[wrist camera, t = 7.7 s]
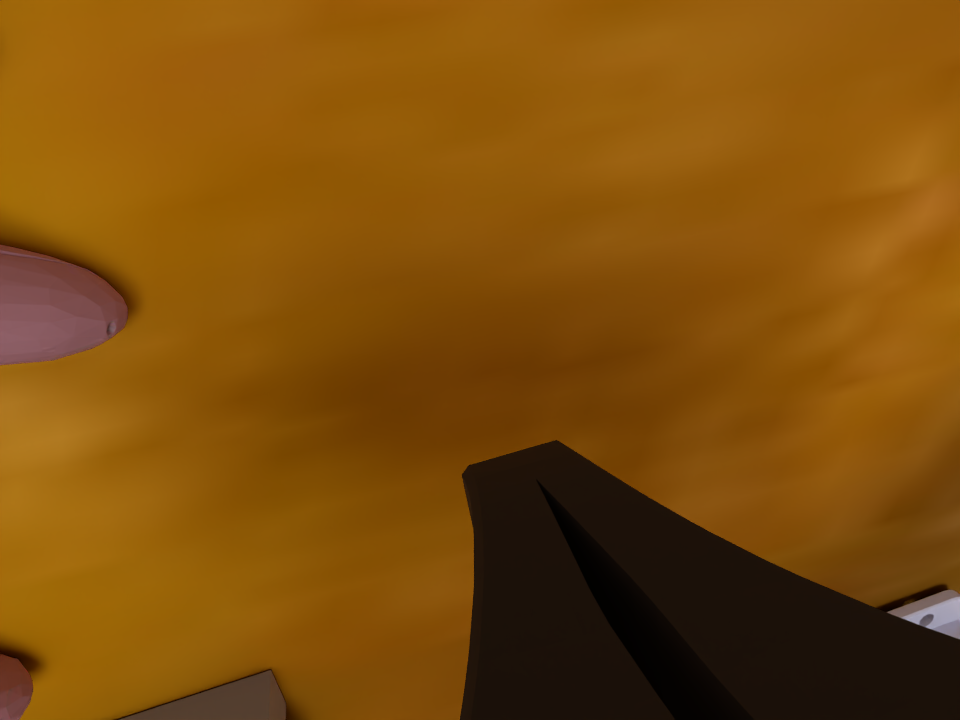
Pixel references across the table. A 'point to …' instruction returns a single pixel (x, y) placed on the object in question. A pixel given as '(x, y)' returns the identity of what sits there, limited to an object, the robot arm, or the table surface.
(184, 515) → the table surface
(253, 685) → the chassis
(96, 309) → the pink toy figurine
